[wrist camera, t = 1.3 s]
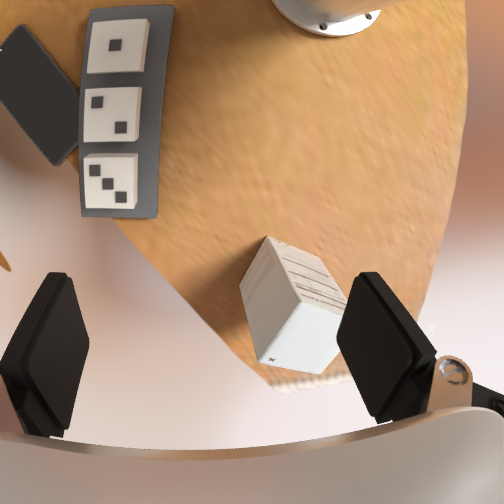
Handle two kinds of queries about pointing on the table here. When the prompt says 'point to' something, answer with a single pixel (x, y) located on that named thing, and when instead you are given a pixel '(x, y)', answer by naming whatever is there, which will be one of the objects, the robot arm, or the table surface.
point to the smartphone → (39, 95)
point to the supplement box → (292, 308)
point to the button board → (149, 110)
